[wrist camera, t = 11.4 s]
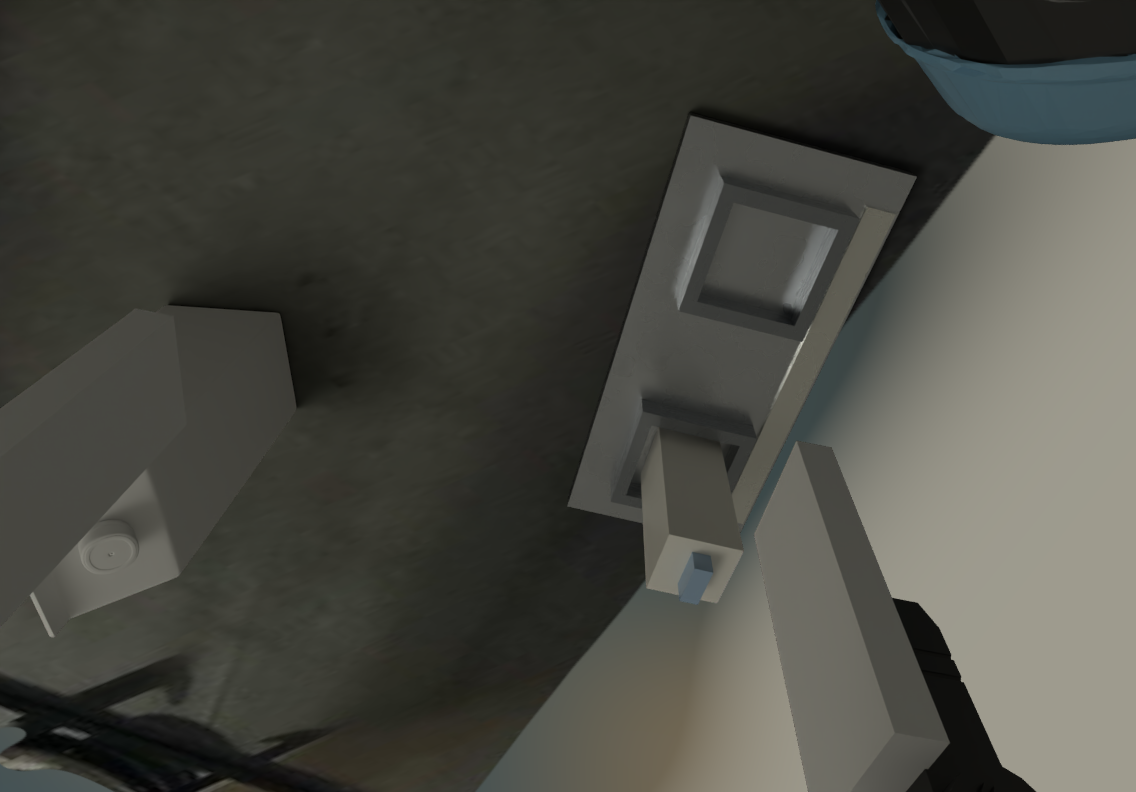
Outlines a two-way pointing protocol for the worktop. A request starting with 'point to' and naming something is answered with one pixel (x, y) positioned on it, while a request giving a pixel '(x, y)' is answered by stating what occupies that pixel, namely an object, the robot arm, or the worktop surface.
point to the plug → (688, 518)
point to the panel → (735, 305)
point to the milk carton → (184, 463)
